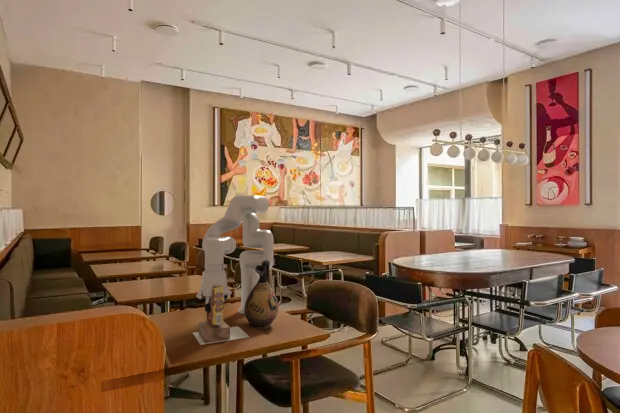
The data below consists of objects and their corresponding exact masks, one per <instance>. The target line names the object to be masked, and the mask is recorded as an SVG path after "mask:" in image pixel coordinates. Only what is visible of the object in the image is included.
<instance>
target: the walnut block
mask: <svg viewBox="0 0 620 413" xmlns="http://www.w3.org/2000/svg"><path fill="white" fill-rule="evenodd" d="M230 327H231V326H229V324H227V322H226V321H225V320H224V319H223V324H219V325H213V324H211V323H209V322H208V321H206V320H205V321H199V322H198V332H199V335H200V337H201V338H202V339H203V341H204V342H205V343H209V342H216V341H222V340H228V339H230ZM228 341H229V340H228ZM222 342H223V341H222ZM216 343H217V342H216ZM209 344H210V343H209Z"/></svg>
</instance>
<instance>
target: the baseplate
mask: <svg viewBox="0 0 620 413" xmlns="http://www.w3.org/2000/svg"><path fill="white" fill-rule="evenodd" d="M192 335H193V336H194V337H195V339H196V340H197V341H198V344H199V345H200V346H201V345H209V344H215V343H222V342H226V341H234V340H240V339H246V338H250V336H249V335H248V334H247V333H246V332H245V331H244V330H243V328H241V327H239V326H238V325H237V326H232V327H231V326H230V339H228V340H222V341H216V342H209V343H205V342H204V341H203V339H202V338H201V337H200V335H199V331H196V332H195V331H194V332H192Z"/></svg>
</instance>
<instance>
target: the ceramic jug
mask: <svg viewBox="0 0 620 413" xmlns="http://www.w3.org/2000/svg"><path fill="white" fill-rule="evenodd" d="M269 265H270V262H269V261H268V260H264V261H263V262H262V265H261V266H260V265H257V266H256V268H255V271H256V273H258V274H259V277H260V278H259V280H258V282H257V284H256V285H255V286H254V288H253V289H252V291H251V292H250V294H249V295H248V297H247V300H246V303H245V307H244V313H245V314H244V317H245V318H246V320H247V322H248V323H249V325H250V326H251V327H254V328H257V330H265V329H269V328H270V327H271V326H272V323H273V322H274V321H275V320H276V319H277V317H278V313H279V302H278V298H277V295H276V294H275V292H274V290H273V288H272V287H271V285H270V284H269V281H268V276H269V271H270V269H269Z"/></svg>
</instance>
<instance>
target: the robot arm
mask: <svg viewBox="0 0 620 413" xmlns="http://www.w3.org/2000/svg"><path fill="white" fill-rule="evenodd" d="M269 203H270V202H269V200H268V198H267V197H266V196H264V195H253V194H252V195H235V196H233V197H232V198H231V199H230V201H229V204H228V206H227V208H226V211H225V213H224V214H223V215H224V216H223V217H221V218H219V219H218V220H216V221H215V222H214V223H213V224H211V225H210V226H209V227H208V228H207V230H206V232H205V234H204V237H203V238H202V241H201V242H202V243H201V244H202V245H201V247H202V250H203V251H204V271H202V273H201V274H202V275H201V282H200V283H201V284H200V290H199V291H198V292H197V293H196V295H195V296H196V298H198V299H199V300H201V301H202V302H203V303H204V311H205V313H206V312H207V313H208V314H209V313H210V304H209V298H210V296H212V287H217V286H222V287H223V310H224V308H225V307H224V306H225V305H224V304H225V301H226V300H227V299H228V297H229V296H230V295H232V294H233V293H232V292H233V291H231V290H230V288H229V287H228V281H227V280H228V279H227V274H226V270H225V269H227V268H228V265H227V264H225V263H224V261H225V260H224V254H226V255H227V254H228V255H229V254H232V253H233V252H234V251H235V250H236V248H237V242H236V240H235V237H233V236H228V235H226V236H225V235H222V234H225V233H227V232H231V231H233V230H236V229H238V228H239V227H240V226H241V225H242V244H243V246H244V247H246V248H250V250H244V251H242V252H241V253H240V254H239V259H238V260H239V267H240V275H241V276H240V279H241V280H240V281H241V283H240V284H241V286H240V288H241V289H240V291H241V294H240V296H241V297H240V306H241V307H239V309H238V310H237V313H239V314H241V315H245V313H244V307H245V303H246V300H247V297H248V295H249V294H250V292H251V291H252V289H253V288H254V286H255V285H256V284H257V282H258V280H259V278H260V275H259V274H258V273H256V271H255V268H256V266H257V265H260V266H261V265H262V262H263V261H264V260H268V261H269V262H270V265H269V270H270V269H272V268H273V265H274V248H275V247H274V245H275V244H274V243H275V242H274V239H275V238H274V235H273V233H272V231H271V230H269V229H260V219H259V217H258V215H257V214H265V213H266V212H268V209H269ZM251 248H252V249H262V250H251ZM203 296H204V297H203Z"/></svg>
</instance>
